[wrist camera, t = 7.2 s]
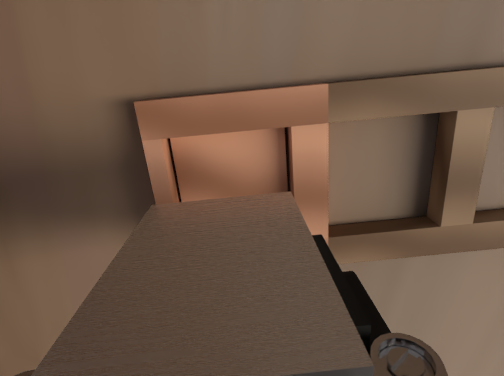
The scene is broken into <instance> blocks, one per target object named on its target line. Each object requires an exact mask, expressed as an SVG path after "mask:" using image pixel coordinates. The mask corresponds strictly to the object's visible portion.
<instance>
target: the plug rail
mask: <svg viewBox="0 0 504 376" xmlns="http://www.w3.org/2000/svg"><path fill="white" fill-rule="evenodd" d="M503 106H504V66H499V67H488V68H477V69H467V70H456V71H446V72H435V73H424V74H414V75H403V76H392V77H382V78H371V79H361V80H350V81H339V82H329V83H318V84H308V85H297V86H286V87H276V88H265V89H254V90H244V91H233V92H223V93H212V94H201V95H191V96H180V97H170V98H159V99H148V100H140V101H136V102H134V107H135V111H136V116H137V120H138V125H139V130H140V134H141V139H142V143H143V148H144V153H145V157H146V162H147V166H148V171H149V176H150V180H151V185H152V189H153V194H154V199H155V203H156V204H166V203H177V202H180V201H179V196H178V190H177V185H176V180H175V174H174V169H173V164H172V158H171V153H170V147H169V142H168V138H170V141H171V147H172V152H173V157H174V163H175V168H176V174H177V179H178V185H179V190H180V195H181V201H182V202H187V201H197V200H208V199H218V198H228V197H239V196H249V195H259V194H270V193H280V192H288V187H287V167H286V147H285V127H287V133H288V154H289V176H290V191H291V193H292V195H293V197H294V199H295V201H296V203H297V205H298V207H299V209H300V212H301V214H302V216H303V218H304V220H305V222H306V224H307V226H308V228H309V230H310V233H311V235H319V234H322V236H323V238H324V239H325V241H326V243H327V245H328V247H329V249H330V250H331V252H332V254H333V256H334V258H335V260H336V262H337V263H338V264H345V263H355V262H365V261H376V260H386V259H396V258H406V257H416V256H426V255H436V254H446V253H457V252H467V251H477V250H487V249H497V248H504V209H495V210H485V211H475V210H476V204H477V199H478V194H479V188H480V183H481V178H482V172H483V167H484V162H485V156H486V151H487V146H488V140H489V135H490V130H491V124H492V119H493V114H494V108H495V107H503ZM429 113H440V114H439V122H438V130H437V138H436V146H435V154H434V162H433V170H432V178H431V186H430V194H429V201H428V209H427V216H424V217H413V218H403V219H393V220H383V221H373V222H362V223H352V224H342V225H332V226H328V123H335V122H345V121H356V120H366V119H377V118H387V117H398V116H408V115H419V114H429Z"/></svg>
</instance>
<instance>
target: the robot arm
mask: <svg viewBox="0 0 504 376" xmlns="http://www.w3.org/2000/svg"><path fill="white" fill-rule="evenodd" d="M312 237H313V239H314V241H315V243H316V245H317V247H318V249H319V251H320V254H321V256H322V258H323V260H324V262H325V264H326V266H327V268H328V270H329V272H330V275H331V277H332V279H333V281H334V283H335V285H336V287H337V289H338V291H339V293H340V296H341V298H342V300H343V302H344V304H345V306H346V308H347V310H348V312H349V314H350V317H351V319H352V321H353V323H354V325H355V327H356V329H357V331H358V333H359V335H360V337H361V340H362V342H363V344H364V346H365V348H366V350H367V352H368V354H369V356H370V358H371V361H372V363H373V365H374V374H373V376H448V374H447V372H446V369H445V366H444V364H443V362H442V360H441V359H440V357H439V355H438V354H437V353H436V352H435V351H434V350H433V349H432V348H431V347H430V346H429V345H427V344H426V343H424V342H423V341H421V340H420V339H417V338H415V337H413V336H410V335H406V334H402V333H391V331H390V330H389V328H388V327H387V325H386V323H385V322H384V320H383V318H382V317H381V315H380V313H379V312H378V310H377V308H376V307H375V305H374V303H373V302H372V300H371V299H370V297H369V295H368V294H367V292H366V290H365V289H364V287H363V285H362V284H361V282H360V280H359V279H358V277H357V275H356V274H355V273H354V272H353V271H347V272H342V271H341V269H340V267H339V265H338V263H337V262H336V260H335V258H334V256H333V254H332V252H331V250H330V249H329V247H328V245H327V243H326V241H325V239H324V238H323V236H322V234H319V235H312ZM34 371H35V370H30V371H25V372H22V373H20V374H17V375H15V376H31V375H32V374H33V372H34Z"/></svg>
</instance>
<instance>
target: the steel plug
mask: <svg viewBox="0 0 504 376" xmlns="http://www.w3.org/2000/svg"><path fill="white" fill-rule="evenodd" d="M373 374H374V365H373V363H372V361H371V358H370V356H369V354H368V352H367V350H366V348H365V346H364V344H363V342H362V340H361V337H360V335H359V333H358V331H357V329H356V327H355V325H354V323H353V321H352V319H351V317H350V314H349V312H348V310H347V308H346V306H345V304H344V302H343V300H342V298H341V296H340V293H339V291H338V289H337V287H336V285H335V283H334V281H333V279H332V277H331V275H330V272H329V270H328V268H327V266H326V264H325V262H324V260H323V258H322V256H321V254H320V251H319V249H318V247H317V245H316V243H315V241H314V239H313V237H312V235H311V233H310V230H309V228H308V226H307V224H306V222H305V220H304V218H303V216H302V214H301V212H300V209H299V207H298V205H297V203H296V201H295V199H294V197H293V195H292V193H291V191H290V192H280V193H270V194H259V195H249V196H239V197H228V198H218V199H208V200H197V201H187V202H177V203H166V204H156V205H151V206H150V208H149V209H148V211H147V212H146V213H145V215H144V216H143V218H142V219H141V221H140V222H139V223H138V225H137V226H136V228H135V229H134V231H133V232H132V233H131V235H130V236H129V238H128V239H127V240H126V242H125V243H124V245H123V246H122V248H121V249H120V250H119V252H118V253H117V255H116V256H115V257H114V259H113V260H112V262H111V263H110V265H109V266H108V267H107V269H106V270H105V272H104V273H103V274H102V276H101V277H100V279H99V280H98V282H97V283H96V284H95V286H94V287H93V289H92V290H91V291H90V293H89V294H88V296H87V297H86V299H85V300H84V301H83V303H82V304H81V306H80V307H79V308H78V310H77V311H76V313H75V314H74V316H73V317H72V318H71V320H70V321H69V323H68V324H67V326H66V327H65V328H64V330H63V331H62V333H61V334H60V335H59V337H58V338H57V340H56V341H55V343H54V344H53V345H52V347H51V348H50V350H49V351H48V352H47V354H46V355H45V357H44V358H43V360H42V361H41V362H40V364H39V365H38V367H37V368H36V369H35V371H34V372H33V374H32V375H31V376H373Z"/></svg>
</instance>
